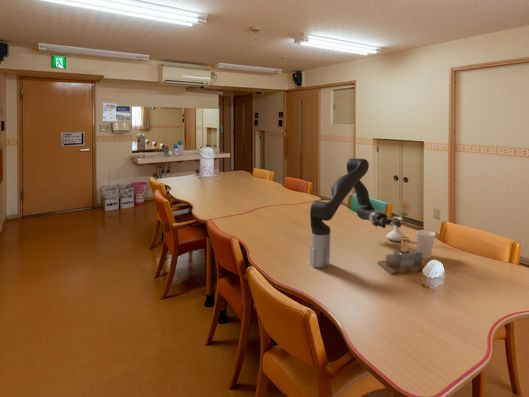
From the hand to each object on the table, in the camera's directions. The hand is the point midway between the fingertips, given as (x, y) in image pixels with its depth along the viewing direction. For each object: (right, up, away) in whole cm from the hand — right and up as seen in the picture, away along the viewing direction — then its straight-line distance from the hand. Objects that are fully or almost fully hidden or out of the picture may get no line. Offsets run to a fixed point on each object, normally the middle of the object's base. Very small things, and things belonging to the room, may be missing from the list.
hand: (392, 226), depth 190 cm
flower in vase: (+15, -11, +34) cm, 38 cm away
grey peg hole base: (+2, -20, -8) cm, 22 cm away
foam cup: (+19, -17, +7) cm, 26 cm away
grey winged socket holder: (+2, -19, -8) cm, 21 cm away
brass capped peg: (+2, -19, -8) cm, 21 cm away
